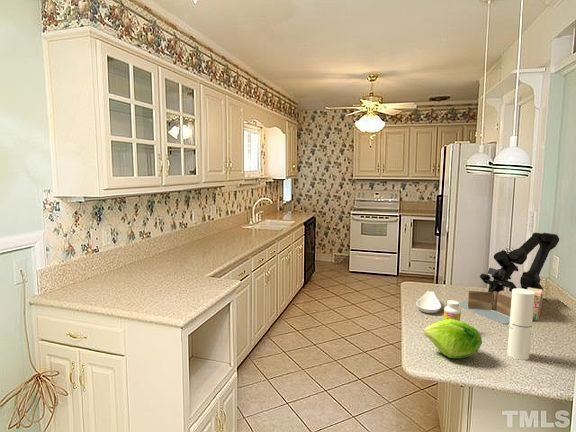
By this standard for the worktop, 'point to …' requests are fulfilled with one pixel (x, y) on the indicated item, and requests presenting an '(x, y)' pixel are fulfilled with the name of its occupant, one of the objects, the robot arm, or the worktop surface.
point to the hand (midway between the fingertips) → (488, 295)
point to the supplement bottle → (452, 310)
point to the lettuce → (454, 338)
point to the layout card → (488, 314)
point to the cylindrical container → (520, 323)
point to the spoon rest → (428, 303)
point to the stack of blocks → (537, 302)
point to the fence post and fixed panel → (501, 303)
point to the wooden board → (480, 300)
